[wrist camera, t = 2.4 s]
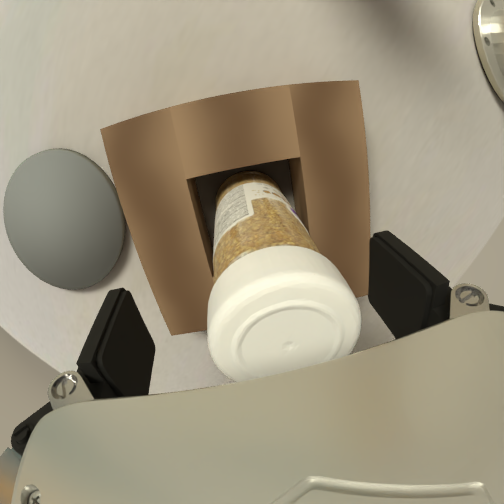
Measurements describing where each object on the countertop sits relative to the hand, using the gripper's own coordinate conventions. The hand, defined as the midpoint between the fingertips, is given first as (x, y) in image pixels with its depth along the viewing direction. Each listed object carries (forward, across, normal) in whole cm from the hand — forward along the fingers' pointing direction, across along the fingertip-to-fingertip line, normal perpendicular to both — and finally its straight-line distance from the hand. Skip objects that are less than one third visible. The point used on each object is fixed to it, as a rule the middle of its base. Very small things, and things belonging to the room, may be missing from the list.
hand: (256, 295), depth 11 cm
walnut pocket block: (+10, -1, 0) cm, 10 cm away
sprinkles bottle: (+10, -1, 0) cm, 10 cm away
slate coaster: (+10, +13, -2) cm, 17 cm away
